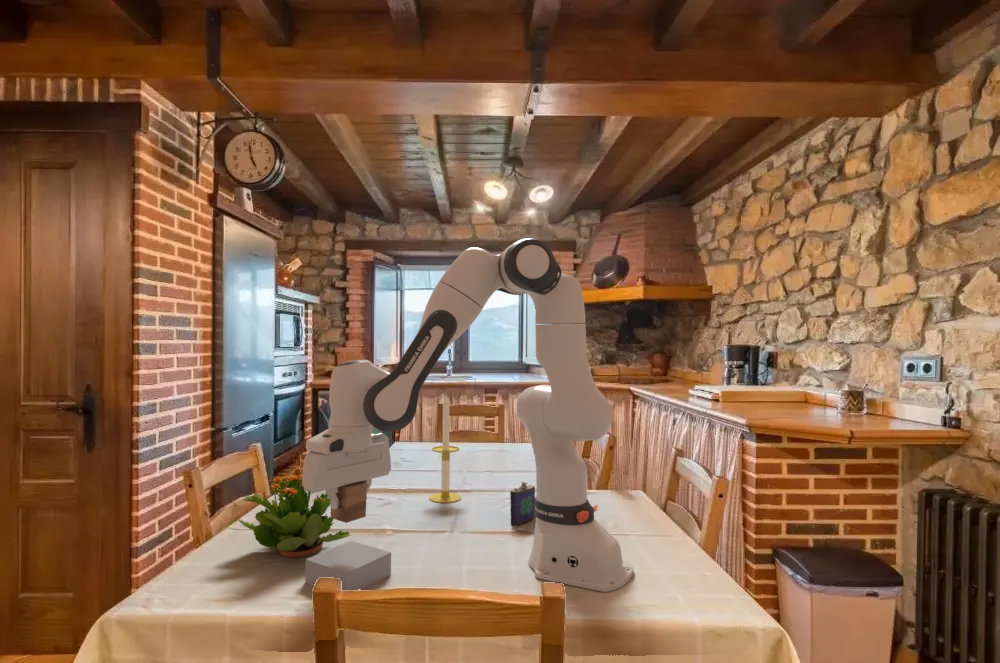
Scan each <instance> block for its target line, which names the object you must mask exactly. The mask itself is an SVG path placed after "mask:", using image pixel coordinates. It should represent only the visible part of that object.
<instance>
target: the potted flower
mask: <svg viewBox="0 0 1000 663" xmlns="http://www.w3.org/2000/svg"><path fill="white" fill-rule="evenodd" d="M272 479H273V483H272V485H270V487H271V494H272V495H274V496H273V497H274V499H271V502H270V500H268V499H267V498H264V499H263V497H262V496H261V495H260V494H259V493H257V492H256V493H254V494H253V495H251V496H249V495H247V496H245V498H244V499H243V500H242V501H243V502H252V503H256V504H258V505H261V506H263V507H264V508H265V509H264V510H262V509H261V511H258V512H256V513H255V516H254V518H255V519H256V521H257V522H258V523H259V524H257V525H255V524H254V523H249V522H248V521H244V520H243V519H239V518H237V521H238V522H239V523H240V524H242V525H243V526H244V527H246V528H247V529H249V530H252V531H253V535H254V539H255V540H256V541H257V542H258V544H259V545H261V546H263V547H266V548H269V549H270V548H271V549H277V550H278V553H279V554H280V555H281V556H283V557H285V558H298V557H299V558H302V557H306V556H307V557H308V556H311V555H314V554H316V553H318V552H319V551H320V550H321V549H322V548H323V544H324V543H330V542H333V541H338V540H341V539H345V538H347V537H348V538H349V537H350V536H352V534H350V532H349V531H346V532H345V531H343V530H341V529H340V530H339V531H337V532H336V533H335V534H332V533H328V532H329V531H330V530H331V527H332V526H333V525H334V524H335V522H333V521H334V519H333V518H331V516H329V515H328V513H326V511H327V509H328V508H329V507H330V499H329V497H328V495H327V494H326V493H320V496H319V494H317V495H316V496H315V498H314V499H313V501H312V502H313V504H312V506H310V504H309V503H310V498H311V495H312V494H313V492H310V491H307V490H305V488H304V487H303V485H302V474H299V475H297V477H294V476H288V475H284V476H282V477H280V476H277V477H274V478H272ZM277 496H278V498H277ZM277 500H278V501H279V502H278V501H277ZM277 502H278V503H277ZM325 513H326V514H325ZM324 514H325V515H324ZM342 531H343V532H342ZM327 533H328V534H327ZM323 534H327V535H326V536H325V535H324V536H322V535H323ZM320 536H321V537H320Z"/></svg>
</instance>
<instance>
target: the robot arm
mask: <svg viewBox="0 0 1000 663" xmlns="http://www.w3.org/2000/svg"><path fill="white" fill-rule="evenodd" d="M555 257H556V256H555V255H554V253H553V251H552V250H551V248H550V247H549V246H548V245H547V244H546V242H544V241H541V240H539V239H537V238H530V237H529V238H522V239H519V240H517V241H515V242H513V243H512V244H511V245H509V246H508V247H506V248H505V249H504V251H502V252H501V253H499V254H493V253H491V252H489V251H488V250H486V249H484V248H480V247H469V248H466V249H465V250H464V251H462V252H461V253H460V255H459V256H458V257H457V258H455V260H454V261H453V262H452V263H451V264H450V265H449V267H448V268H447V269H446V271H445V272H444V273H443V275H442V276H441V278H440V279H439V281H438V282H437V283H436V285H435V287H434V289H433V291H432V293H431V295H430V297H429V298H428V301H427V303H426V305H425V308H424V312H423V316H422V319H421V321H420V325H419V328H418V330H417V332H416V335H415V336H414V338H413V340H412V341H411V343H410V344H409V346H408V347H407V349H406V350H405V353H403V355H402V357H401V358H400V360H399V362H398V363H397V364H396V366H395V367H394V368H393V370H392V371H391V372H389V371H386V370H384V369H382V368H380V367H379V366H377V365H375V364H374V363H372V361H371V360H368V359H357V360H351V361H347V362H346V361H345V362H341V363H339V364H337V365H336V366H335V367H334V368H333V370H332V372H331V377H330V382H329V383H330V384H329V396H328V398H329V399H328V404H329V407H330V416H329V419H328V428H327V429H325V430H324V431H321V432H320V433H318V434H316V435H314V436H312V437H311V438H308V439H307V440H306V442H305V449H306V450H307V451H308V452H307V453H306V455H305V457H304V459H303V465H302V473H301V475H302V485H303V488H305V489H304V490H305V491H306V492H308V491H310V492H311V493H312V494H316V493H320V492H324V491H325V494H327V495H328V498H329V499H330V506H329V507H330V510H331V509H334V510H335V509H339V508H341V507H342V505H341V503H342V500H341V499H338V498H337V496H336V494H335V493H337V492H338V487H341V486H345V485H349V484H353V483H357V482H365V483H367V488H366V501H367V500H368V499H367V498H368V497H367V496H368V492H369V490H370V488H371V486H372V480H373V479H376V478H377V479H378V478H380V477H384V476H387V475H389V474H390V472H391V471H392V470H391V468H392V462H391V459H392V458H391V450H390V442H389V441H390V439H389V437H388V436H387V435H386V434H384V432H387V433H392V432H398V431H401V430H402V429H404V428H406V427H407V426H408V425H410V423H411V422H412V421H413V419H414V417H415V415H416V412H417V410H418V400H419V395H420V392H421V389H422V387H423V385H424V383H425V382H426V381H427V378H428V377H429V375H430V374H431V372H432V371H433V369H434V367H435V366H436V364H437V363H438V361H439V359H440V358H441V356H442V355H443V353H444V352H445V351H446V350H447V349H448V348H449V347H450V346H451V345H452V344H453V343H454V342H455V341H456V340H457V339H458V338H459V337H461V336H462V335H463V334H464V333H465V332H466V331H467V330H468V329H469V328H470V327H471V325H472V324H473V323H474V322H475V320H476V319H477V318H478V317H479V315H480V314H481V312H482V311H483V308H484V307H485V305H487V303H488V301H489V299H490V298H491V296H492V295H494V293H495V292H496V291H499V292H502V293H506V294H509V295H512V296H513V295H514V296H522V295H526V294H528V296H529V297H530V298H531V300H532V302H533V305H534V309H535V320H534V321H535V357H536V361H537V363H538V364H539V365H540V366H541V367H542V368H543V369H544V372H545V373H546V376H547V379H548V382H549V384H539V385H534V386H529V387H527V388H526V389H524V390H523V391H522V392H521V393H520V394H519V395H518V396H519V397H518V399H517V401H516V413H517V417H518V419H519V420H520V422H521V423H522V424H523V426H524V428H525V429H526V431H527V434H528V437H529V440H530V443H531V444H530V445H531V448H532V451H533V454H534V462H535V470H536V471H535V474H536V476H535V477H536V484H535V488H536V496H535V504H534V516H535V519H534V521H535V527H534V536H533V543H532V547H531V551H530V554H529V558H528V565H529V567H530V568H532V570H533V571H534V576H535V578H537V579H539V580H544V581H549V582H553V583H558V582H563V583H566V584H565V585H569V586H573V587H578V588H584V589H587V590H593V591H598V592H602V593H607V592H611V591H614V590H617V589H619V588H621V587H623V586H625V585H626V584H627V583H629V581H630V580H631V579H632V577H633V576H634V568H633V565H632V564H631V563H628V562H626V561H623V555H622V549H621V545H620V543H619V541H618V540H617V539H616V538H615V537H614V536H613V535H612V534H611V533H609V531H608V530H606V528H604V526H603V525H602V524H600V522H598V521H597V519H595V513H596V512H597V511H598V504H596V505H593V506H592V505H591V504H590V502H589V500H588V496H587V494H588V493H587V492H588V485H587V484H588V483H587V482H588V479H587V478H588V468H587V464H586V462H585V460H584V458H583V457H582V455H580V452H578V450H577V447H576V445H575V443H574V441H578V442H585V441H587V442H588V441H596V440H601V439H603V437H605V436H606V434H607V433H608V432H609V430H610V428H611V427H612V423H613V409H612V405H611V403H610V402H609V400H608V399H607V397H606V396H605V395H604V394H603V393H602V392H601V391H600V389H599V388H598V386H597V384H596V382H595V379H594V377H593V375H592V372H591V369H590V366H589V359H588V353H587V352H588V350H587V333H586V332H587V330H586V326H587V325H586V308H585V302H584V296H583V291H582V286H581V283H580V282H579V280H578V278H576V277H574V276H573V275H570V274H568V273H562V271H563V270H562V269H561V267H560V265H559V264H558V262H557V260H556V258H555ZM373 427H374V428H375V429H377V430H378V431H382V432H379V433H373ZM563 583H562V584H563Z"/></svg>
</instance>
